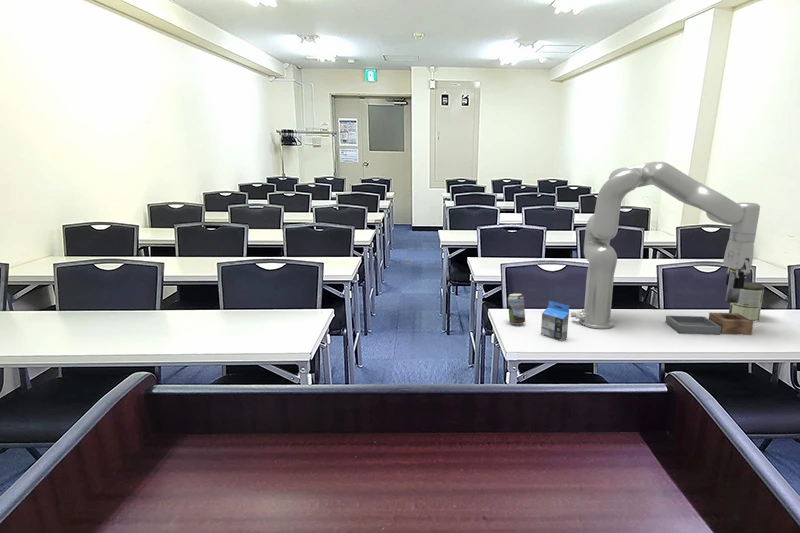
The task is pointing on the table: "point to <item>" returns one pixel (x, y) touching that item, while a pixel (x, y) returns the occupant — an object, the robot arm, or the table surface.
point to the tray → (693, 325)
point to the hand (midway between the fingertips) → (734, 286)
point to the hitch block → (732, 323)
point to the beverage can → (516, 309)
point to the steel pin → (732, 293)
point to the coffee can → (749, 301)
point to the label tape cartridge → (555, 321)
